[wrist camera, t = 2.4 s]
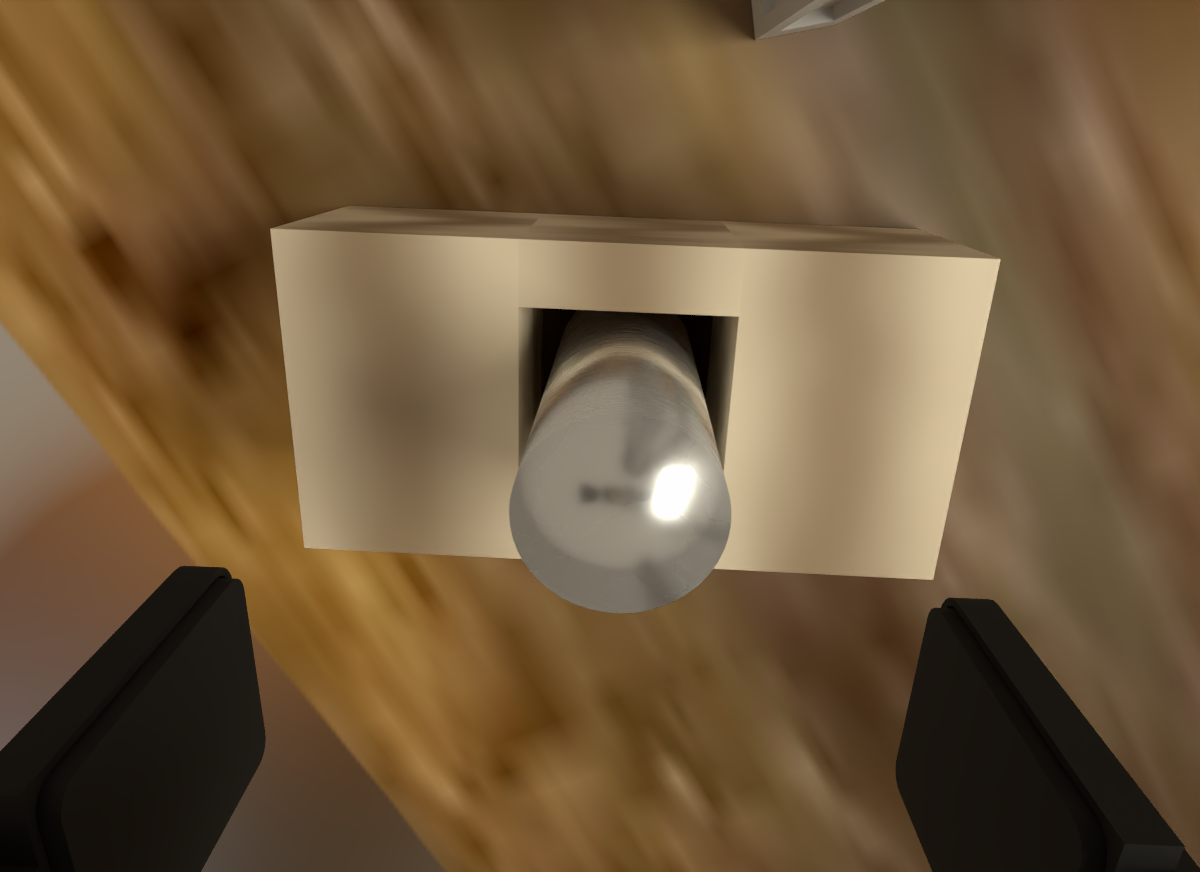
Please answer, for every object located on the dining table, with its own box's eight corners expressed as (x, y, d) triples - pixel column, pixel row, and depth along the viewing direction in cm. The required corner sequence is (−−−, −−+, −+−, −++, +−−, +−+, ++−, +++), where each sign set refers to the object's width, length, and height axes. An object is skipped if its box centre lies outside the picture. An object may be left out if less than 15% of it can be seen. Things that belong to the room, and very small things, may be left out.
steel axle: (696, 292, 26) (741, 418, 15) (685, 420, 28) (720, 618, 17) (561, 287, 27) (508, 407, 15) (558, 414, 28) (509, 607, 17)
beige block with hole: (919, 229, 25) (1000, 259, 20) (874, 490, 29) (932, 579, 23) (348, 205, 26) (270, 228, 20) (367, 466, 29) (304, 547, 24)
